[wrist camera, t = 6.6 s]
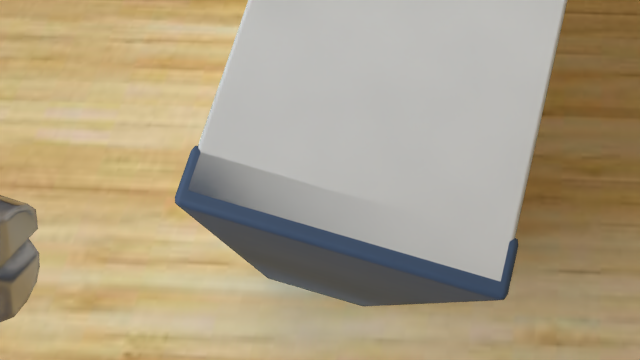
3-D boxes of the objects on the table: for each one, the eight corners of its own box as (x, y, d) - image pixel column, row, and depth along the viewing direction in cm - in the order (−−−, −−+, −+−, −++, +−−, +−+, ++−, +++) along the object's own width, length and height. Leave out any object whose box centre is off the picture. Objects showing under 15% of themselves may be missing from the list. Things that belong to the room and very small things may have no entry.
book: (265, 277, 18) (170, 203, 5) (347, 11, 20) (420, -512, 7) (364, 307, 18) (508, 302, 5) (437, 35, 20) (672, -450, 7)
